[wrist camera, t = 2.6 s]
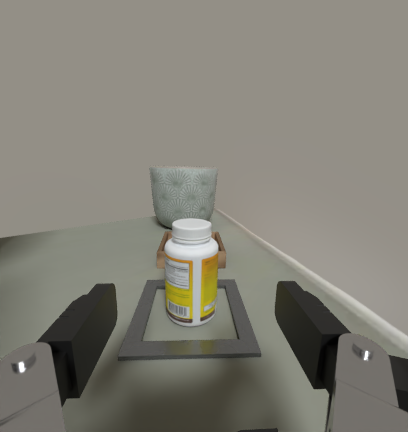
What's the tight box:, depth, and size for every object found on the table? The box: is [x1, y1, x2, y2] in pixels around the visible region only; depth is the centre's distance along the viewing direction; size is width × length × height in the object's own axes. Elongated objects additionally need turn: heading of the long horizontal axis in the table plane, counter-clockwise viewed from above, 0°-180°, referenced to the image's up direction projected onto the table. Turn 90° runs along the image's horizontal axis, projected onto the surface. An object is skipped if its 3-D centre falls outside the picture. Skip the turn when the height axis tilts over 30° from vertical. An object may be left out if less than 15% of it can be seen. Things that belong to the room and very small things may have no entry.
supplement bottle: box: [164, 218, 218, 327], centre depth 23 cm, size 6×6×10 cm
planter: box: [150, 166, 218, 228], centre depth 56 cm, size 17×17×15 cm
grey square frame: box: [118, 280, 261, 360], centre depth 24 cm, size 12×12×1 cm
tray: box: [157, 232, 226, 268], centre depth 39 cm, size 11×11×3 cm
